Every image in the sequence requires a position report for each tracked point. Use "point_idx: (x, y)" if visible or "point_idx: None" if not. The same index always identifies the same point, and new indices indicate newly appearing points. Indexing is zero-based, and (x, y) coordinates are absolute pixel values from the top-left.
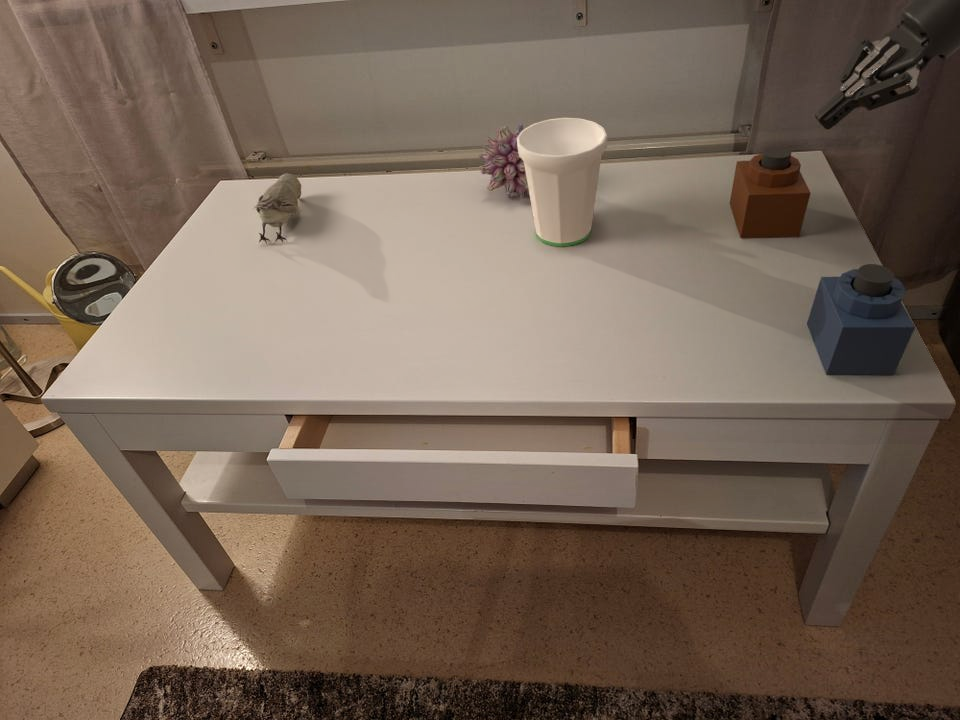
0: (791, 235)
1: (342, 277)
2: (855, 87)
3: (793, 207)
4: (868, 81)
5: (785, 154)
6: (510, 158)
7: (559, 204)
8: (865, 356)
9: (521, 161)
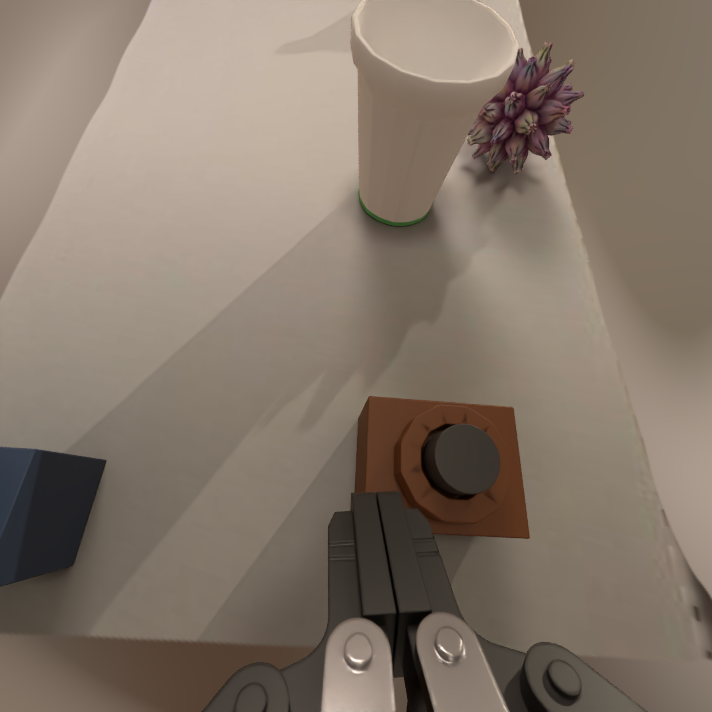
0: None
1: (323, 25)
2: (358, 702)
3: None
4: None
5: (451, 473)
6: None
7: (358, 124)
8: None
9: (496, 102)
